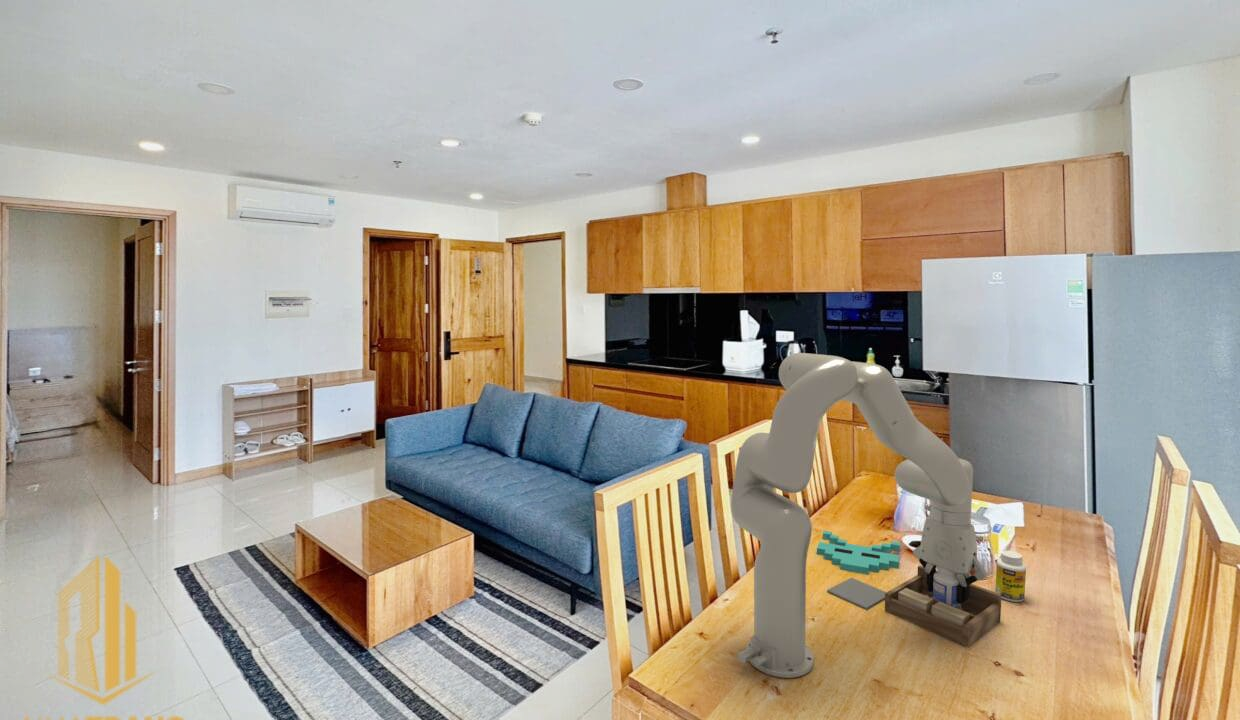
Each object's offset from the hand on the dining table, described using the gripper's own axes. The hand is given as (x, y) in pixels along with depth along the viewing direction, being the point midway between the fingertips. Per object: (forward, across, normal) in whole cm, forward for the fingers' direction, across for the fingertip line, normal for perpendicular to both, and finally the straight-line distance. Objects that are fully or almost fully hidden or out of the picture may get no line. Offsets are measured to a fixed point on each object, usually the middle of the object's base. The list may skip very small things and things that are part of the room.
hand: (947, 594), depth 122 cm
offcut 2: (+4, +4, -6) cm, 9 cm away
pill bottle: (+3, 0, 0) cm, 3 cm away
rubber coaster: (+4, -16, -8) cm, 18 cm away
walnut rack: (+4, 0, -2) cm, 5 cm away
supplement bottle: (+4, +6, +18) cm, 19 cm away
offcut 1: (+4, -4, -6) cm, 8 cm away
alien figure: (+5, -27, +10) cm, 30 cm away
